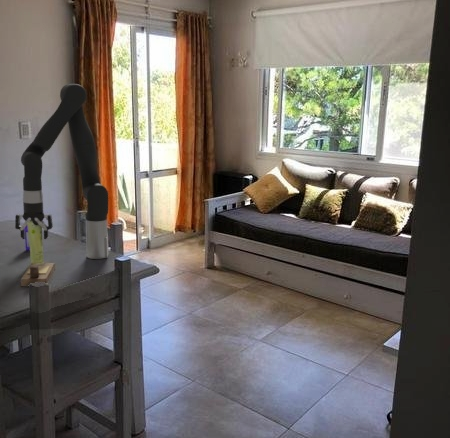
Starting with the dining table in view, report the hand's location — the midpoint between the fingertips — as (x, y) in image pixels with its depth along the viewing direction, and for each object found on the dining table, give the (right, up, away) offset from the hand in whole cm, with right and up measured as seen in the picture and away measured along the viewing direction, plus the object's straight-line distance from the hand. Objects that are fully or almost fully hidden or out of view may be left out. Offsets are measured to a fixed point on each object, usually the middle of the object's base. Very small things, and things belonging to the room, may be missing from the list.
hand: (34, 238), depth 201 cm
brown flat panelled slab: (+6, -15, -12) cm, 20 cm away
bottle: (-10, -6, +23) cm, 26 cm away
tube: (0, -11, +3) cm, 12 cm away
